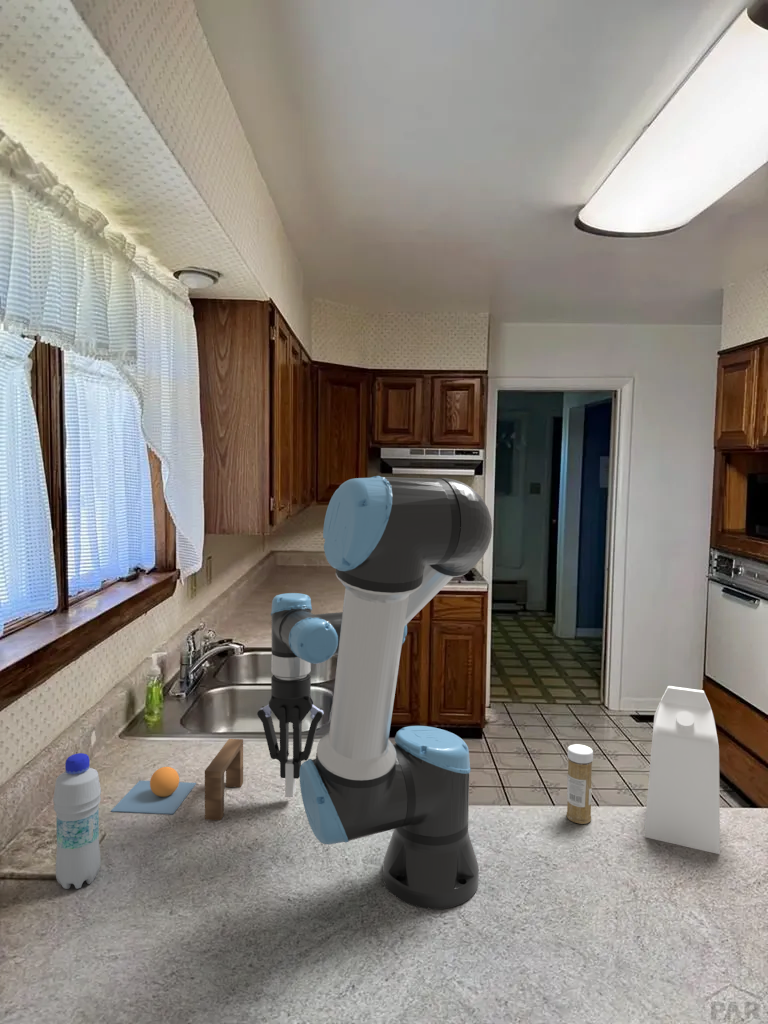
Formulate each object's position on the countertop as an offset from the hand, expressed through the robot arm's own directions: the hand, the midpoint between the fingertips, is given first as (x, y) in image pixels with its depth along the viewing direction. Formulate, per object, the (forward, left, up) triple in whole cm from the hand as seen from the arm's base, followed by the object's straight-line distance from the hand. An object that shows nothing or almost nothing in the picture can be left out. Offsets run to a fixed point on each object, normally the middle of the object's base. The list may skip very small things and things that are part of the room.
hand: (290, 793), depth 122 cm
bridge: (0, +13, -2) cm, 13 cm away
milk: (-3, -73, -2) cm, 73 cm away
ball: (+1, +25, +1) cm, 26 cm away
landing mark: (0, +27, -2) cm, 27 cm away
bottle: (-26, +28, -2) cm, 38 cm away
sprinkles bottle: (-1, -55, -2) cm, 55 cm away
